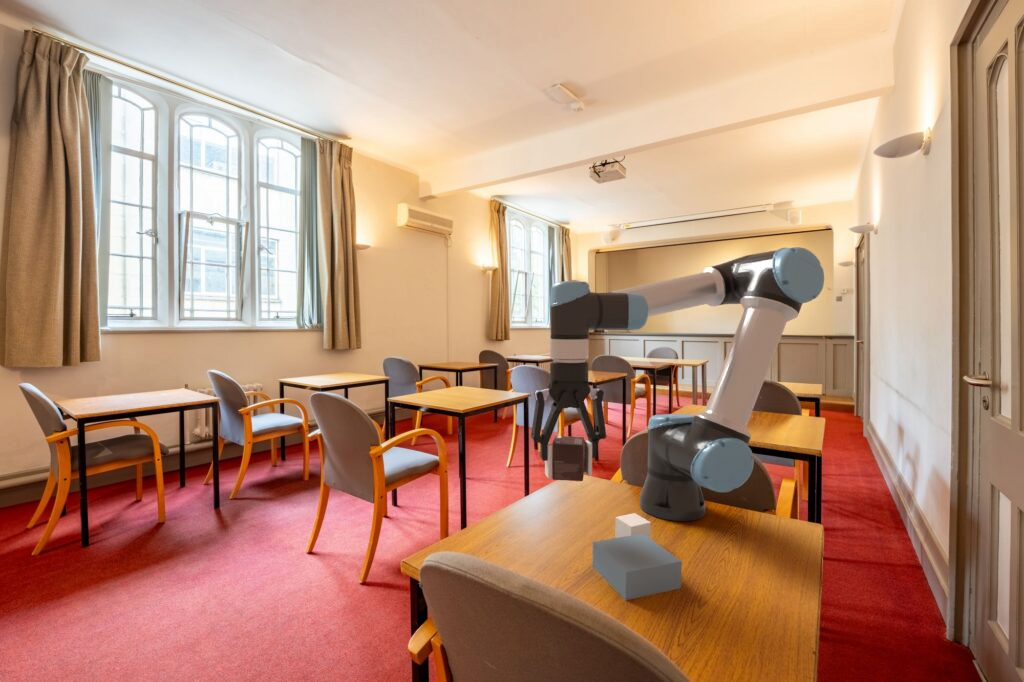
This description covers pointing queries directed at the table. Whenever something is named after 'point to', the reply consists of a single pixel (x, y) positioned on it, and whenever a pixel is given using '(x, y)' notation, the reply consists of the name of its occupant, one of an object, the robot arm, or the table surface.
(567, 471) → the box
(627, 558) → the slate block
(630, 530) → the white cube
